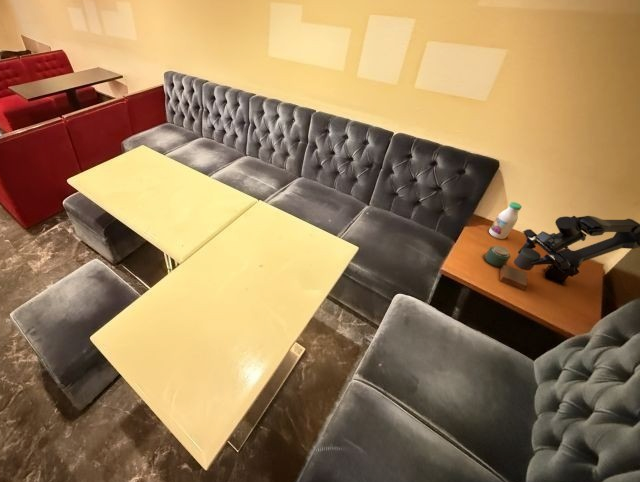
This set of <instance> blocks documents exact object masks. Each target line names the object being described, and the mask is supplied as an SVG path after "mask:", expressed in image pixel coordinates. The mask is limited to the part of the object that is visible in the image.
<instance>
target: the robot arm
mask: <svg viewBox="0 0 640 482" xmlns="http://www.w3.org/2000/svg"><path fill="white" fill-rule="evenodd" d="M555 225H556V228H557V230H558V231H559V232H557V233H555V232H554V233H553V232H552V233H548V232H546V231H543V230H541V232H539V233H538V234H537V233H536V232H535V231H533V230H532V229H529V228H528V229H525V230H523V231H522V232H523V234H524V236H525V239H526V242H525V243H524V245H523V246H522V247H521V248H520V249H519V250H518V251H517V253H518V254H519V253H520V252H521V250H522V249H523V248H530V249H533V250H534V249H536V247H537V246H539V247H540V248H541V249H543V250H544V251H545V252H546V254H544V256H543V257H541V258H540V259H538V260H536V261H534V262H532V263H530V265H534V266H540V265H541V266H542V265H547V266H546V268H545V269H544V270H543V274H544V278H545V279H546V280H548V281H551V282H554V283H557V284H559V285H562V286H564V285H565V281H566V280H567V279H568V278H569V277H571V278H573V277H574V276H577V275H578V274H579V273H580V270H579V268H580V267H581V265H582V264H583V262H586V261H589V260H592V259H594V258H598V257H601V256H603V255H606V254H609V253H613V252H615V251H617V250H620V249H627V250H628V249H629V250H635V249H638V248H640V222H638V221H636V220H634V219H633V218H626V219H603V218H599V217H597V216H593V215H584V216H575V215H572V216H566V215H565V216H560V217H558V218H556V220H555ZM605 233H614V235H613V236H612V237H610V238H607V239H603V240H601V241H598V242H595V243H592V244H590V245H587V246H584V247H582V248H578V249H575V250H571V249H570V248H569V246H572V245H573V244H575V243H577V242H579V241H582V242H584V241H586V238H587V235H589V236H591V237H599V236H602V235H604V234H605ZM536 245H537V246H536Z"/></svg>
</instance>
